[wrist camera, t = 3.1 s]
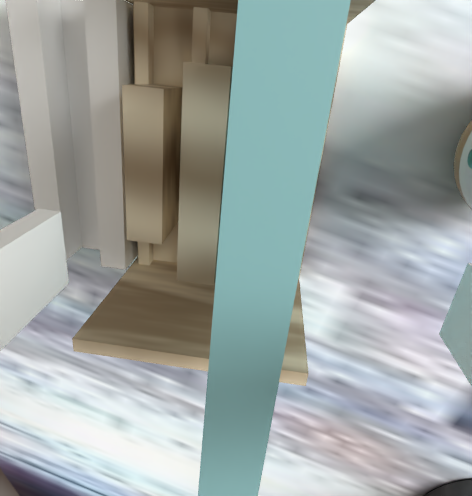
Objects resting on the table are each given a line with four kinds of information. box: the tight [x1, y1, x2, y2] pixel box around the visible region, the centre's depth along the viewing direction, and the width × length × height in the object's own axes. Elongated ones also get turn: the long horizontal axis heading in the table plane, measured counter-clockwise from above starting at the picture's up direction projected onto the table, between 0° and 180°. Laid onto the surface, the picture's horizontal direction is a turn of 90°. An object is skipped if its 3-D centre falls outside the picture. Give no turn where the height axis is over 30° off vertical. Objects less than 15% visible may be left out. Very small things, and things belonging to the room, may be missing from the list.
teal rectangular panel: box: [198, 0, 351, 496], centre depth 20 cm, size 16×2×22 cm, turn 175°
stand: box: [5, 0, 138, 270], centre depth 30 cm, size 20×8×4 cm, turn 175°
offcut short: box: [122, 84, 183, 245], centre depth 27 cm, size 10×2×7 cm, turn 175°
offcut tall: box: [177, 62, 233, 286], centre depth 26 cm, size 13×2×9 cm, turn 175°
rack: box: [72, 0, 375, 386], centre depth 25 cm, size 22×15×14 cm
